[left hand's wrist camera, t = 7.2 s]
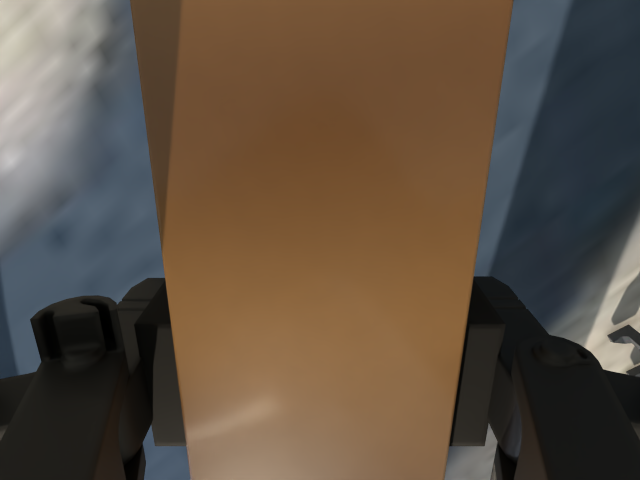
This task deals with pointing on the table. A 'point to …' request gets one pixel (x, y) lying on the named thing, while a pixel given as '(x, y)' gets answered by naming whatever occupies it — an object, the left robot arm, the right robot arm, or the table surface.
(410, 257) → the beam
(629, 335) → the toy
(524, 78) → the table surface
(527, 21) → the table surface
